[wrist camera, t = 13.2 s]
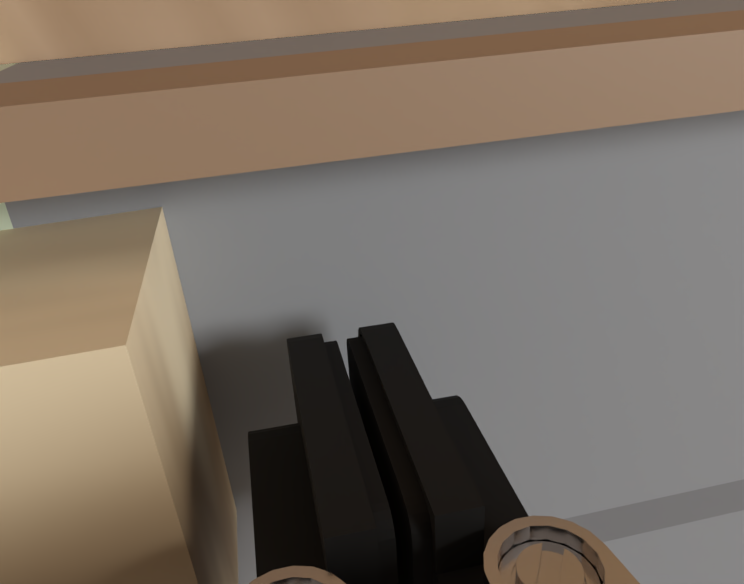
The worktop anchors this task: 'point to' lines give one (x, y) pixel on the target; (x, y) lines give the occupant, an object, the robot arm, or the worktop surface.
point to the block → (106, 413)
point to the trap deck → (451, 238)
